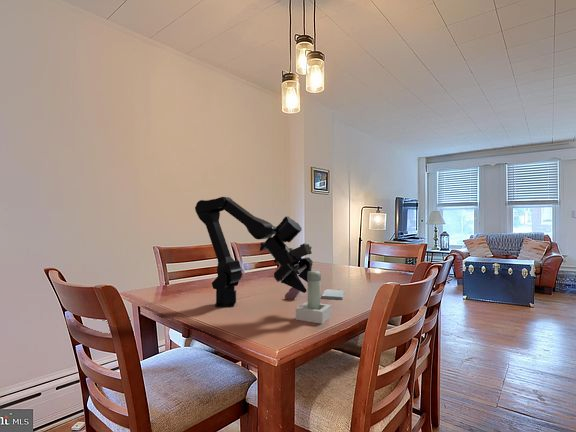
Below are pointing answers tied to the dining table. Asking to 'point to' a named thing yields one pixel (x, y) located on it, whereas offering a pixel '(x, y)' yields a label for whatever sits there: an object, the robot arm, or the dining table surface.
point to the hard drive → (333, 294)
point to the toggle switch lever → (314, 289)
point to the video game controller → (292, 293)
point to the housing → (314, 313)
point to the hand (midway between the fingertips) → (311, 289)
